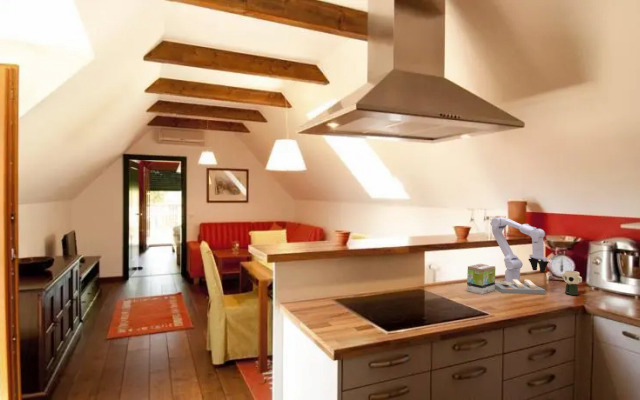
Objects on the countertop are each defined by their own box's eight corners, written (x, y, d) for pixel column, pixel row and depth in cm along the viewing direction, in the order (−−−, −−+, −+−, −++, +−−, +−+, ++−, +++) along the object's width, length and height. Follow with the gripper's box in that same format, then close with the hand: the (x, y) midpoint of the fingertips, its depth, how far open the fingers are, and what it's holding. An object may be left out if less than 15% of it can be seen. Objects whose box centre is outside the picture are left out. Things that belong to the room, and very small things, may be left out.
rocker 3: (524, 281, 213) (524, 279, 213) (528, 281, 213) (529, 279, 213) (531, 287, 205) (531, 285, 205) (536, 288, 205) (536, 285, 205)
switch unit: (491, 286, 218) (492, 281, 217) (532, 287, 216) (532, 282, 216) (502, 293, 204) (502, 287, 203) (545, 294, 202) (545, 288, 202)
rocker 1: (500, 284, 214) (500, 281, 214) (505, 284, 214) (504, 281, 214) (506, 284, 206) (506, 282, 207) (511, 284, 206) (511, 282, 206)
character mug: (557, 292, 206) (558, 270, 206) (566, 291, 208) (567, 269, 208) (576, 297, 196) (577, 274, 195) (585, 296, 198) (586, 273, 198)
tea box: (483, 294, 201) (483, 268, 200) (466, 291, 208) (466, 266, 208) (495, 290, 210) (495, 265, 210) (478, 286, 218) (479, 262, 218)
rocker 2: (512, 281, 214) (512, 279, 213) (516, 281, 213) (517, 279, 213) (518, 287, 206) (518, 285, 206) (523, 287, 206) (523, 285, 205)
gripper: (524, 247, 221) (525, 269, 221) (538, 250, 207) (539, 273, 207) (535, 247, 221) (536, 269, 221) (550, 250, 207) (551, 273, 207)
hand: (538, 271), depth 214 cm, fingers open, 7 cm apart
